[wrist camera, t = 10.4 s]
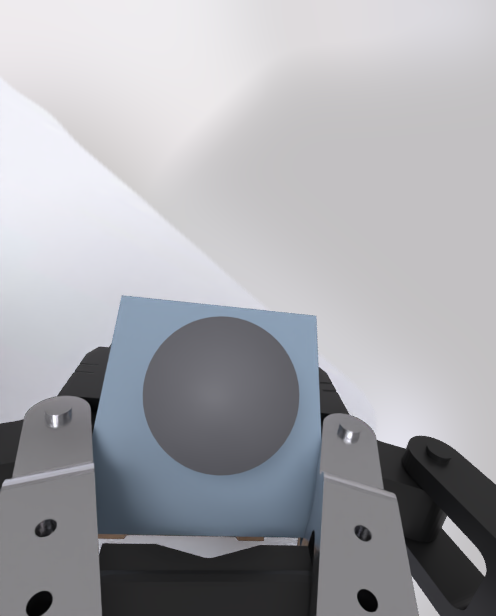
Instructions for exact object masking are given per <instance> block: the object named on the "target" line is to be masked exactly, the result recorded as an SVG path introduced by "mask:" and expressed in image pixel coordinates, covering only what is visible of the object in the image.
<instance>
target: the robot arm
mask: <svg viewBox="0 0 496 616" xmlns="http://www.w3.org/2000/svg"><path fill="white" fill-rule="evenodd" d="M111 345H112V344H111ZM111 345H110V347H109V348H108V347H98V348H96V349H94V350H93V351H91V352H89V353H88V354H86V356H85V357H84V359H83V360H82V361H81V363H80V365H79V366H78V367H77V369H76V370H75V373H73V374H72V376H71V377H70V378H69V380H68V381H67V383H66V384H65V386H64V387H63V388H62V390H61V391H60V393H59V394H58V395H57V397H53V398H49V399H46V400H43V401H41V402H39V403H37V404H35V405H34V406H33V407H31V408H30V409H29V410H28V411H27V413H26V414H25V417H24V419H23V420H19V421H14V422H8V423H1V424H0V616H419V614H418V609H417V603H416V598H415V593H414V587H413V582H412V577H413V578H414V579H415V581H416V582H417V584H418V585H419V587H420V588H421V589H422V591H423V592H424V593H425V595H426V596H427V598H428V599H429V601H430V602H431V603H432V605H433V606H434V608H435V609H436V610H437V612H438V613H439V615H440V616H496V484H494V483H493V482H492V481H491V480H490V479H488V478H487V477H486V476H485V475H484V474H483V473H482V472H480V471H479V470H478V469H477V468H476V467H474V466H473V465H472V464H471V463H470V462H469V461H468V460H467V459H465V458H464V457H463V456H462V455H461V454H460V453H458V452H457V451H456V450H455V449H453V448H452V447H450V446H449V445H447V444H446V443H444V442H442V441H440V440H437V439H435V438H431V437H427V436H415V437H413V438H411V439H410V441H409V442H408V445H407V448H406V449H405V448H401V447H398V446H394V445H391V444H387V443H384V442H381V441H378V440H376V435H375V433H374V431H373V430H372V428H371V427H370V426H369V425H367V424H366V423H365V422H363V421H362V420H360V419H358V418H356V417H354V416H351V415H349V413H348V411H347V409H346V408H345V406H344V404H343V402H342V400H341V398H340V397H339V395H338V393H337V392H336V389H335V388H334V386H333V385H332V382H331V380H330V378H329V377H328V375H327V373H326V372H324V371H323V370H322V369H321V368H320V367H318V369H319V393H320V417H321V444H320V450H319V455H318V461H317V468H316V480H315V491H314V498H313V503H312V508H311V512H310V516H309V519H308V523H307V526H306V530H305V534H304V538H298V543H297V546H283V545H259V546H255V547H252V548H248V549H244V550H240V551H237V552H233V553H229V554H226V555H222V556H218V557H214V558H204V557H200V556H196V555H193V554H189V553H186V552H182V551H179V550H175V549H172V548H168V547H165V546H161V545H158V544H109V543H103V544H102V547H101V550H100V554H99V548H98V529H97V509H96V490H95V471H94V462H93V446H92V434H93V430H94V425H95V420H96V415H97V411H98V406H99V401H100V397H101V392H102V387H103V382H104V378H105V373H106V368H107V363H108V359H109V354H110V349H111ZM447 516H448V517H449V518H450V519H451V520H452V521H453V522H454V523H455V524H456V525H457V526H458V528H460V530H461V531H462V532H463V533H464V534H465V535H466V536H467V537H468V538H469V539H470V540H471V541H472V543H473V544H474V545H475V546H476V547H477V548H478V549H479V551H480V552H481V554H482V556H483V558H484V560H485V563H486V568H487V572H486V576H485V577H484V576H483V575H482V573H481V572H480V571H479V570H478V569H477V568H476V567H475V566H474V564H473V563H472V562H471V561H470V560H469V559H468V558H467V556H466V555H465V554H464V553H463V552H462V551H461V550H460V548H459V547H458V546H457V545H456V544H455V543H454V542H453V541H452V539H451V538H450V537H449V536H448V535H447V534H446V533H445V531H444V530H443V529H442V525H443V523H444V521H445V519H446V517H447ZM411 575H412V577H411Z"/></svg>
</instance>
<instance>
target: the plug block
mask: <svg viewBox="0 0 496 616" xmlns="http://www.w3.org/2000/svg"><path fill="white" fill-rule="evenodd" d="M320 444H321V417H320V393H319V369H318V346H317V321H316V316H313V315H304V314H294V313H285V312H275V311H266V310H256V309H247V308H237V307H228V306H218V305H208V304H199V303H189V302H180V301H170V300H161V299H151V298H142V297H132V296H123V295H122V297H121V302H120V307H119V311H118V316H117V321H116V326H115V330H114V335H113V340H112V345H111V349H110V354H109V359H108V363H107V368H106V373H105V378H104V382H103V387H102V392H101V397H100V401H99V406H98V411H97V415H96V420H95V425H94V430H93V434H92V446H93V462H94V471H95V490H96V509H97V529H98V534H125V535H180V536H235V537H290V538H304V534H305V530H306V526H307V523H308V519H309V516H310V512H311V508H312V503H313V498H314V491H315V480H316V468H317V461H318V455H319V450H320Z"/></svg>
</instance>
